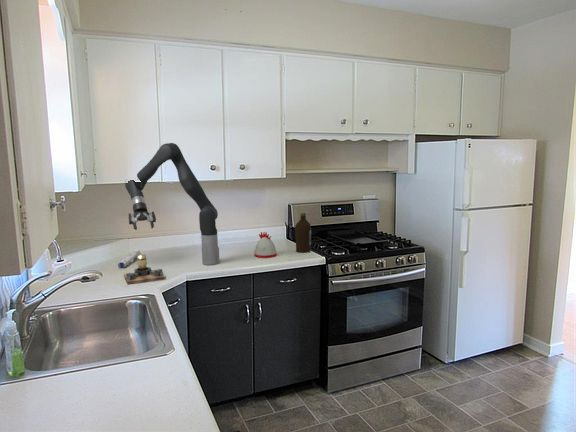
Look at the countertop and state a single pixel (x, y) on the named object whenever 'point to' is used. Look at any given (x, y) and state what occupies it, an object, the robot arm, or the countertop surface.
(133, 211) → the robot arm
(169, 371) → the countertop surface
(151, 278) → the walnut shaft board
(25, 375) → the countertop surface
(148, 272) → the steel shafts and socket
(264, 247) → the grey pompom beanie hat
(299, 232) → the olive oil
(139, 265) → the cylinder
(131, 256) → the white capped tube
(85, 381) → the countertop surface
